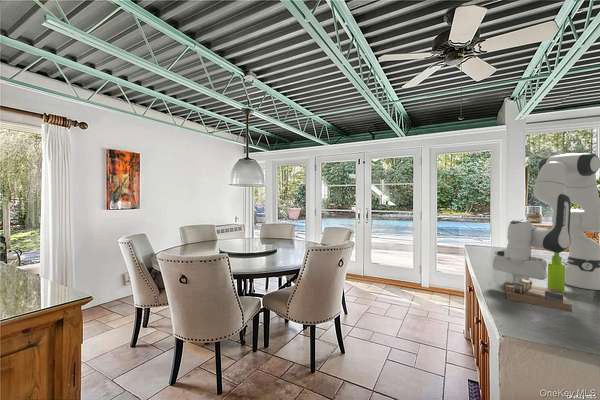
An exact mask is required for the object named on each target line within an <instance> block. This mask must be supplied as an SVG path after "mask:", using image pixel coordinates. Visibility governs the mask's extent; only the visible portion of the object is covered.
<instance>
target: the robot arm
mask: <svg viewBox="0 0 600 400" xmlns="http://www.w3.org/2000/svg"><path fill="white" fill-rule="evenodd" d="M599 168H600V158H599V156H598V155H596V154H594V153H593V152H592V153H591V152H583V153H579V152H578V153H575V152H573V153H565V154H558V155H549V156H545V157H542V159H541V160H539V162H538V164H537V170H538V173H537V176H536V180H535V182H534V186H533V191H532V192H533V196H534V197H535V198H536V199H537V200H538V201H539V202H541V203H543V204H546V205H548V206H550V207H551V208H552V213H553V214H552V216H551V222H552V226H551V228H546V227H545V228H544V227H538V226H536V225H534V224H532V222H531V221H530V220H528V219H515V220H511V221H510V222H509V223H508V227H507V234H506V235H507V245H506V249H501V250H500V249H499V250H496V251H495V252H494V255H495V256H494V257H493V260H492V269H493V270H494V271H498V272H503V273H505V272H507V273H512V277H513V279H514V280H515V281H514V283H517V282H519V281H520V280H522V279H523V278H524V276H525V277H529V279H530V278H532V279H536V280H540V281H544V280H546V279H548V271H547V268H548V262H547V261H546V260H545V259H544V258H541V257H535V256H532V248H535V249H540V250H545V251H548V252H552V253H554V252H555V253H559V254H560V253H562V252H563V251H567V250H568V257H567V265H565V285H568V286H571V287H575V288H580V289H585V290H594V291H595V290H596V291H600V243H598V242H597V241H596V240H594V239H592V238H590V237H588V236H587V235H586V233H585V232H591V233H600V196H599V191H598V190H599V189H598V185H597V184H598V183H597V177H596V174H595V173H597V172H598V171H599V170H600V169H599ZM572 205H575V206H577V207H579V208H581V209H571V208H572ZM517 275H518V277H520V278H519V279H517V277H516V276H517Z"/></svg>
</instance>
